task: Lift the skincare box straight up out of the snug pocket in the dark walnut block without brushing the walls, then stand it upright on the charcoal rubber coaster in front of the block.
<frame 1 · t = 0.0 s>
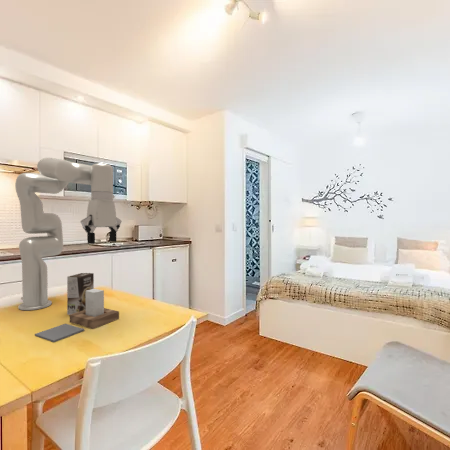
hand: (102, 242, 109), 31 cm above the table, tool pointing down, fingers open, 9 cm apart
coaster: (60, 333, 101), on the table
pocket block: (94, 320, 113), on the table
coffee box: (81, 312, 123), on the table
skincare box: (94, 321, 113), resting in pocket block
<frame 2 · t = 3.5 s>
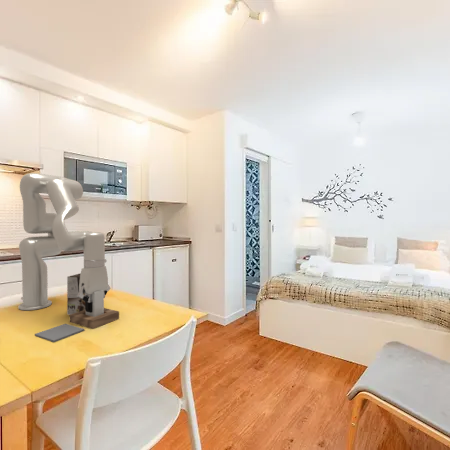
hand: (94, 309, 113), 4 cm above the table, tool pointing down, fingers closed on skincare box, 4 cm apart
skincare box: (94, 321, 113), resting in pocket block, touching gripper
everything else where it was.
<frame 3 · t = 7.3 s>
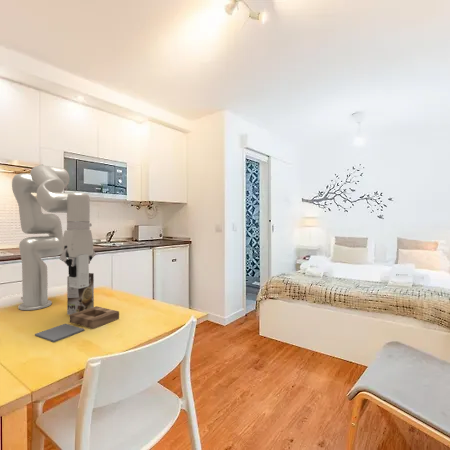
hand: (78, 275, 107), 19 cm above the table, tool pointing down, fingers closed on skincare box, 4 cm apart
skincare box: (79, 287, 107), point 15 cm above the table, touching gripper
everything else where it was.
when the fingers open (6 cm above the table, at t = 11.0 s): skincare box drops 1 cm, resting on coaster.
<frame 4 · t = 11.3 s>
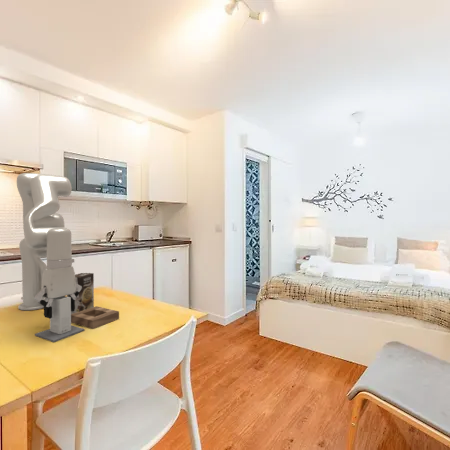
hand: (59, 313, 101), 7 cm above the table, tool pointing down, fingers open, 7 cm apart
skincare box: (60, 331, 101), resting on coaster
everything else where it was.
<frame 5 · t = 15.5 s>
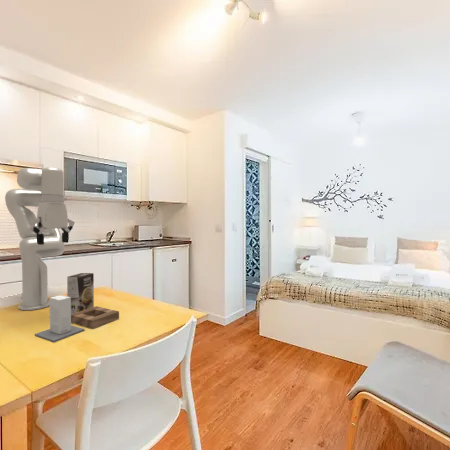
hand: (53, 243, 113), 30 cm above the table, tool pointing down, fingers open, 9 cm apart
nothing on the table moved.
at the end: skincare box 0.4 cm off-centre on the coaster, point 0.4 cm above the coaster's base; skincare box tilted 0°; the gripper is holding nothing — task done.
